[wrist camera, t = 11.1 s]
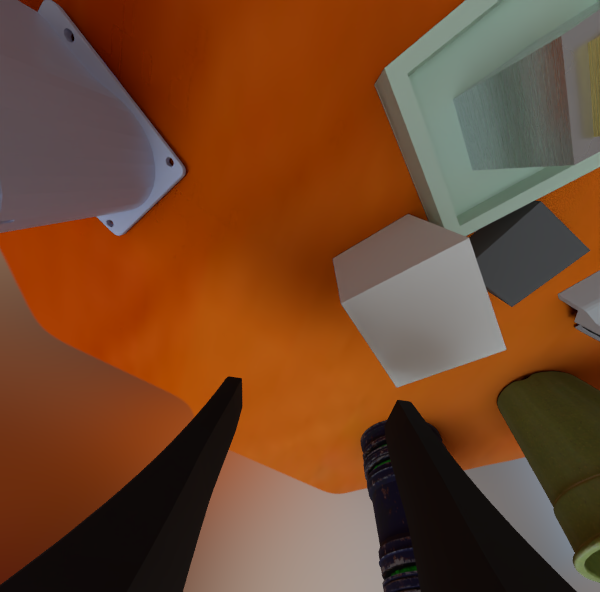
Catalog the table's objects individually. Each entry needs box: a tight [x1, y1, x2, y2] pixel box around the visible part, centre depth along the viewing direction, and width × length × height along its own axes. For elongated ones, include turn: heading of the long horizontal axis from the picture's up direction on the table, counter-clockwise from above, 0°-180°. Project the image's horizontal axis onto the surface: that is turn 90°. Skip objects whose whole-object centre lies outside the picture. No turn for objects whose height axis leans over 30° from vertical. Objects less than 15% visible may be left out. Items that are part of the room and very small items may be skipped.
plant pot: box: [497, 371, 600, 583], centre depth 17 cm, size 12×12×11 cm
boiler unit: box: [333, 214, 506, 387], centre depth 15 cm, size 8×6×7 cm
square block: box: [469, 201, 590, 307], centre depth 15 cm, size 5×5×2 cm
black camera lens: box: [361, 420, 446, 592], centre depth 21 cm, size 10×10×15 cm
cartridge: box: [453, 1, 600, 170], centre depth 9 cm, size 4×4×6 cm
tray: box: [375, 0, 600, 236], centre depth 12 cm, size 10×10×2 cm
